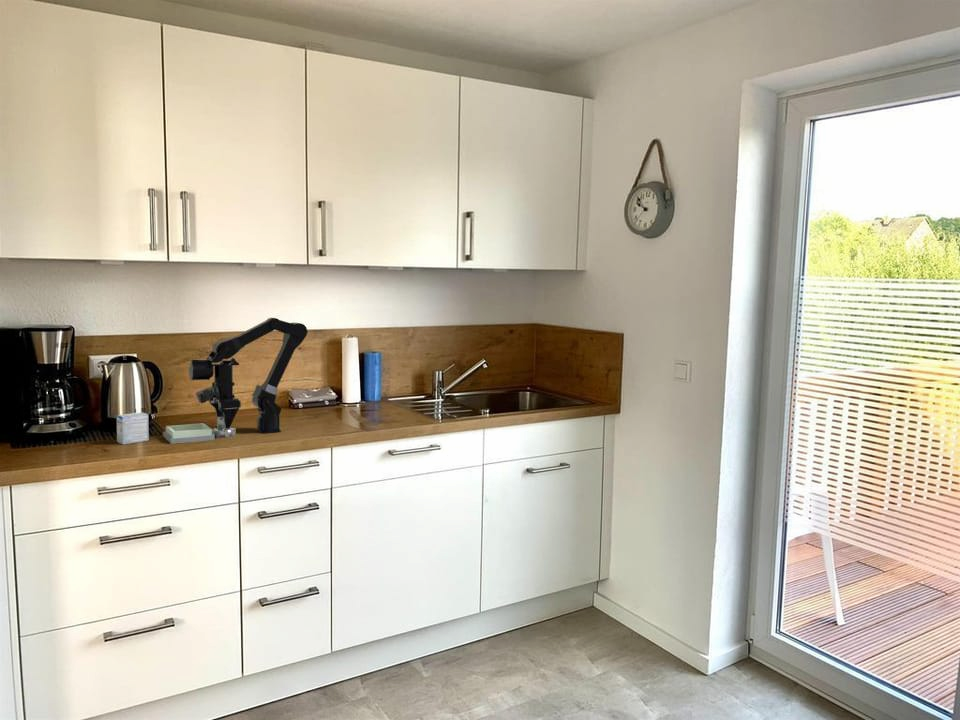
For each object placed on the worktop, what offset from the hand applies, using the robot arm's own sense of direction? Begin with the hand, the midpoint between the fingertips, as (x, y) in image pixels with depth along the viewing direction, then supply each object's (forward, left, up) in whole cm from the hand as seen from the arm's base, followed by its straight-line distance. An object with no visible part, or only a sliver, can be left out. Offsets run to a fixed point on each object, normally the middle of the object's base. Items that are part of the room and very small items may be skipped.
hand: (224, 426), depth 233 cm
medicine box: (+27, -2, -3) cm, 27 cm away
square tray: (+11, 0, -3) cm, 11 cm away
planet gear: (0, 0, -3) cm, 3 cm away
